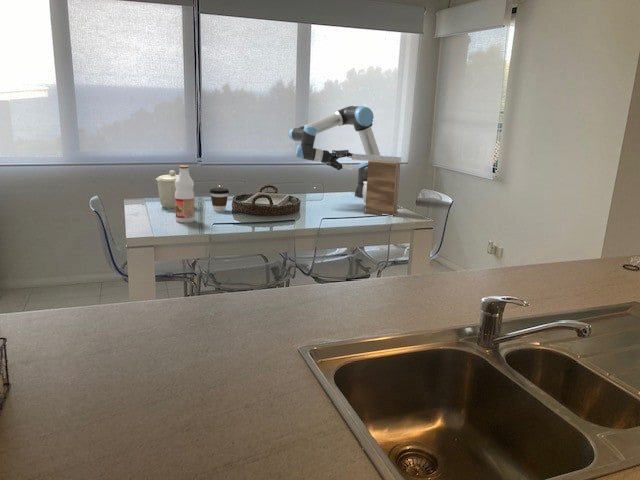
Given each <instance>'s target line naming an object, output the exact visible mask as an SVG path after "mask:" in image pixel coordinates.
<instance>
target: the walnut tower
mask: <svg viewBox="0 0 640 480" xmlns="http://www.w3.org/2000/svg"><path fill="white" fill-rule="evenodd" d="M367 163H368V175H367V191H366V206H364V207H365V211H364V212H363V214H365V215H373V216H374V215H375V216H382V214H392V215H394V214H396V213H397V212H398V213H399V210H398V202H399V201H398V200H399V199H398V198H399V188H400V187H399V186H400V176H401V175H400V174H401V173H400V172H401V163H392V162H378V161H368V162H367ZM398 213H397V214H398ZM397 214H396V215H397ZM394 216H395V215H394Z"/></svg>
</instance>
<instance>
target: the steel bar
mask: <svg viewBox="0 0 640 480" xmlns="http://www.w3.org/2000/svg"><path fill="white" fill-rule="evenodd" d="M351 160H354V161H378V162H392V163H400V164H401V162H402V156H392V155H391V156H389V155H380V156H378V155H366V154H364V153H363V154H361V153H360V154H359V153H353V154H352V158H351Z"/></svg>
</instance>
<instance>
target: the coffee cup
mask: <svg viewBox="0 0 640 480" xmlns="http://www.w3.org/2000/svg"><path fill="white" fill-rule="evenodd" d="M208 193H210V199H211V204H212V209H213V212H218V213H221V212H222V211H223V212H225V211H226V208H227V203H228V199H229V195H228V194H229V193H230V190H229V189H228V188H222V187H215V188H213V187H212V188H210V190H209V191H208Z"/></svg>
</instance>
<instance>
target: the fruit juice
mask: <svg viewBox="0 0 640 480" xmlns="http://www.w3.org/2000/svg"><path fill="white" fill-rule="evenodd" d="M178 170H179V174H178V175H179V176H178V178H177V179H176V181H175V187H176V192H175V221H176V222H177V223H182V224H184V223H185V224H186V223H187V224H188V223H189V224H190V223H193V222H195V220H196V217H195V216H196V215H195V214H196V212H195V192H194V184H195V183H194V179H192V178H191V175H190V171H189V170H190V166H189V165H185V164H183V165H179V166H178Z"/></svg>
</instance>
